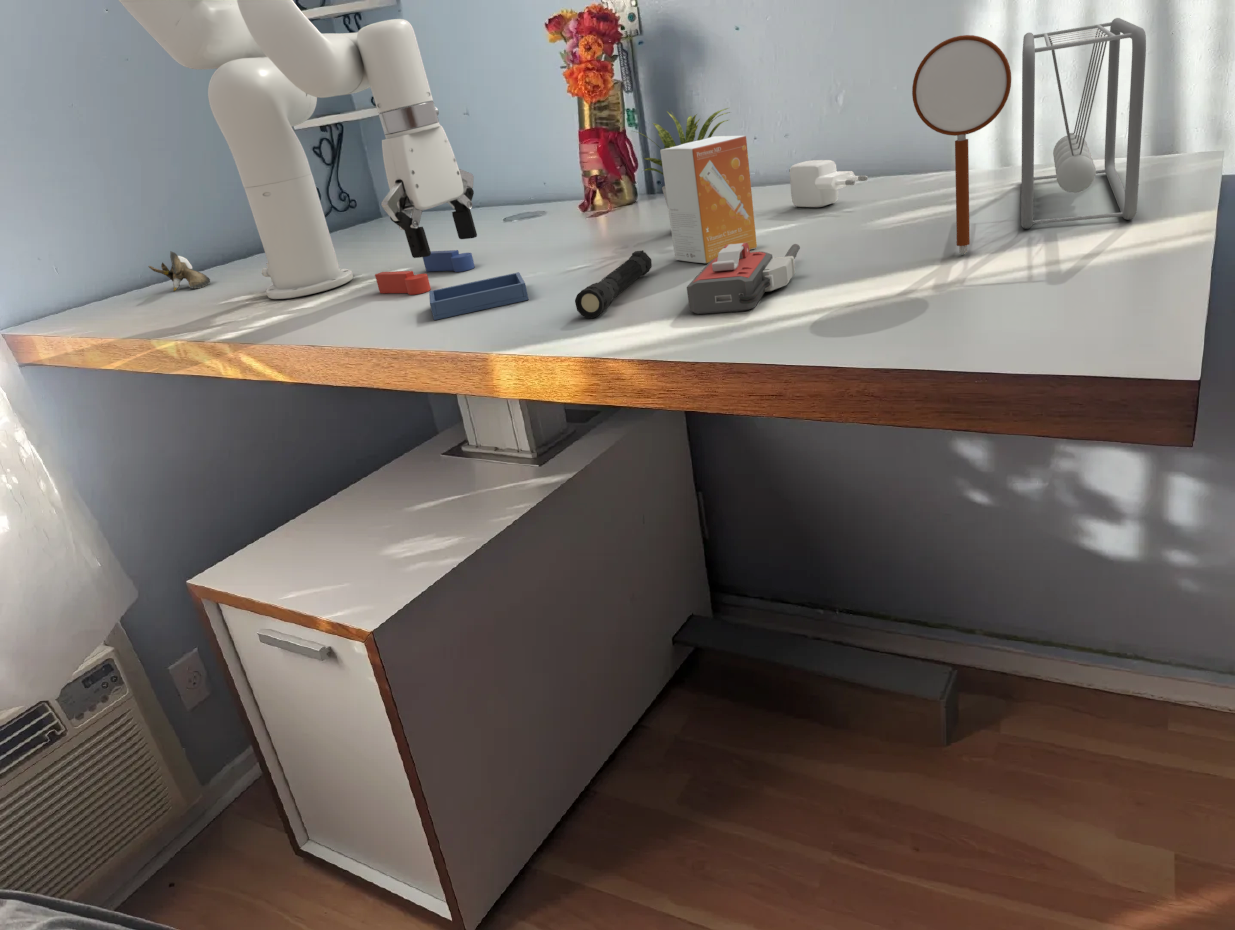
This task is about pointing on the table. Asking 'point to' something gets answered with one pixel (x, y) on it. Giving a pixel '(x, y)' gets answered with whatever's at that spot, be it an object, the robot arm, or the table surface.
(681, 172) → the small box
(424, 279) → the red block with cylinder
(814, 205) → the power adapter
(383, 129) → the robot arm
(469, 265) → the blue block with cylinder
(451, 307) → the blue tray
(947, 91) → the magnifying glass
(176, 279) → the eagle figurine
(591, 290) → the flashlight
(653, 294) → the table surface
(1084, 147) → the newton's cradle
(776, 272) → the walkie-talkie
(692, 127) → the house plant
